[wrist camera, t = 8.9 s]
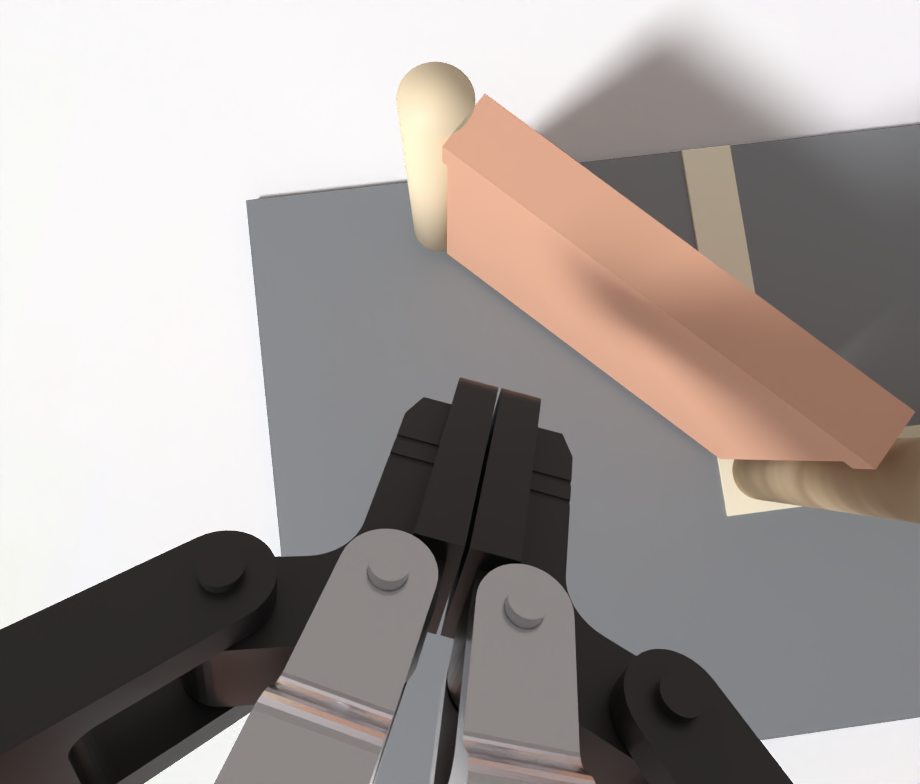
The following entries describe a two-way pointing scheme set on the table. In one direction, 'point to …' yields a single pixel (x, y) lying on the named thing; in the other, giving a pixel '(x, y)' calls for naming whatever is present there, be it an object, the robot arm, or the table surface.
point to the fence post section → (840, 483)
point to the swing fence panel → (628, 287)
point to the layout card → (625, 421)
